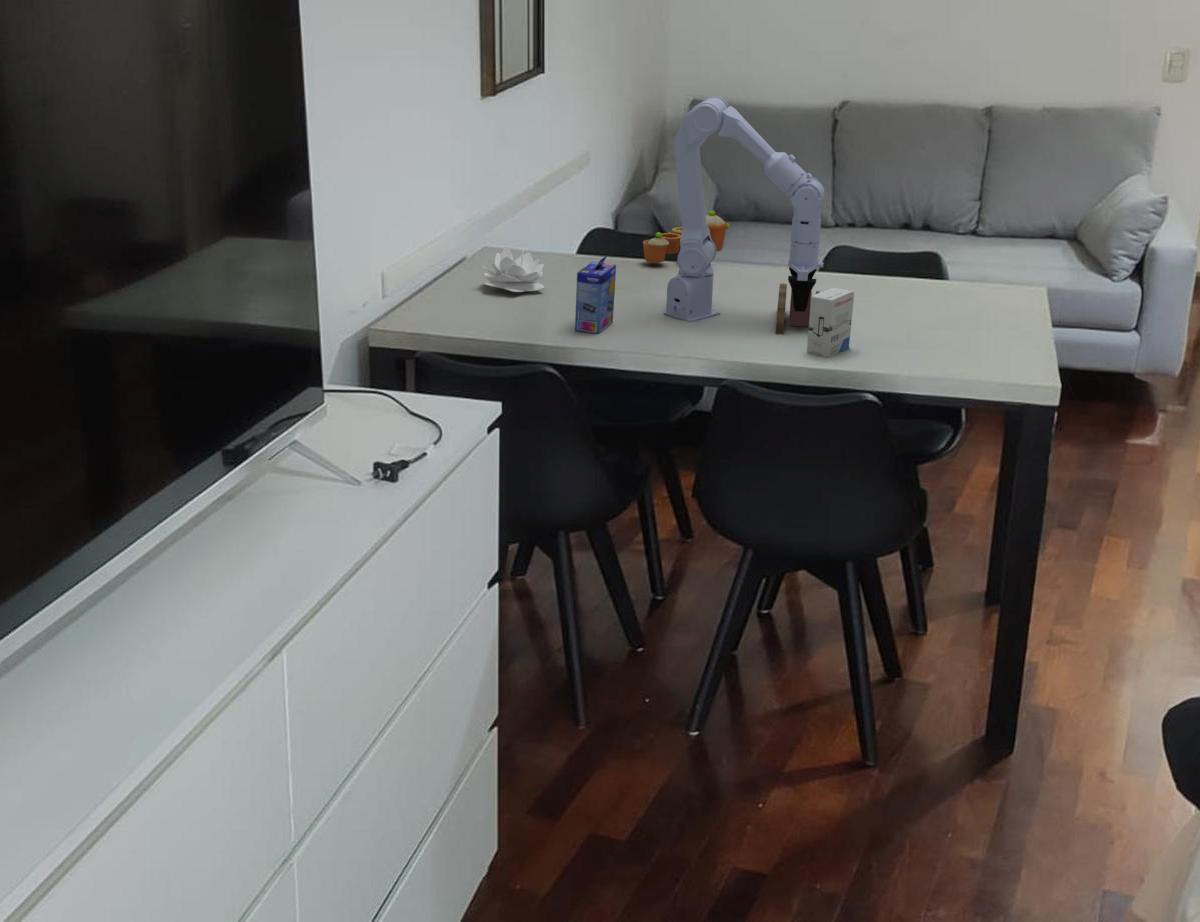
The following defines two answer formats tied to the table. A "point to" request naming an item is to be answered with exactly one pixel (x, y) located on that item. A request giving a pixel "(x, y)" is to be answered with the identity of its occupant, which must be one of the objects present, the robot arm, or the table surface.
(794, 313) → the mauve rectangular block
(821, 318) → the ink box
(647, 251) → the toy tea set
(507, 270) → the lotus flower
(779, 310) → the shelf wall
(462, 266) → the table surface
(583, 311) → the ink cartridge box
